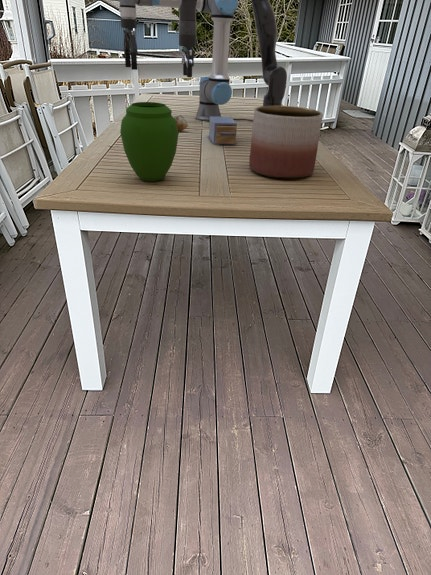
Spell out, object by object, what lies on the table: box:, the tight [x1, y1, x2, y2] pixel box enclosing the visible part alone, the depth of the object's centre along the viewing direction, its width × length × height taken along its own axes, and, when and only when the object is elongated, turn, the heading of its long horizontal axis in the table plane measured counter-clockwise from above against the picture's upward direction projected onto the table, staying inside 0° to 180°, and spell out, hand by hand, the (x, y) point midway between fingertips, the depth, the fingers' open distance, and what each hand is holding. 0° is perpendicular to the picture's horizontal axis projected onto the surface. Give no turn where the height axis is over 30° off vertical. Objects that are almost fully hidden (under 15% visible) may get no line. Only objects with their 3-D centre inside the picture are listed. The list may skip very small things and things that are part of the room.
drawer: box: [215, 125, 238, 145], centre depth 195 cm, size 20×10×8 cm, turn 9°
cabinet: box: [208, 116, 238, 145], centre depth 200 cm, size 16×11×10 cm
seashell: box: [173, 114, 189, 132], centre depth 214 cm, size 10×6×8 cm, turn 97°
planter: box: [248, 105, 324, 180], centre depth 156 cm, size 25×25×22 cm
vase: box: [119, 101, 179, 182], centre depth 140 cm, size 20×20×24 cm
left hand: (131, 68), depth 208 cm, fingers open, 13 cm apart
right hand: (187, 76), depth 182 cm, fingers open, 8 cm apart
